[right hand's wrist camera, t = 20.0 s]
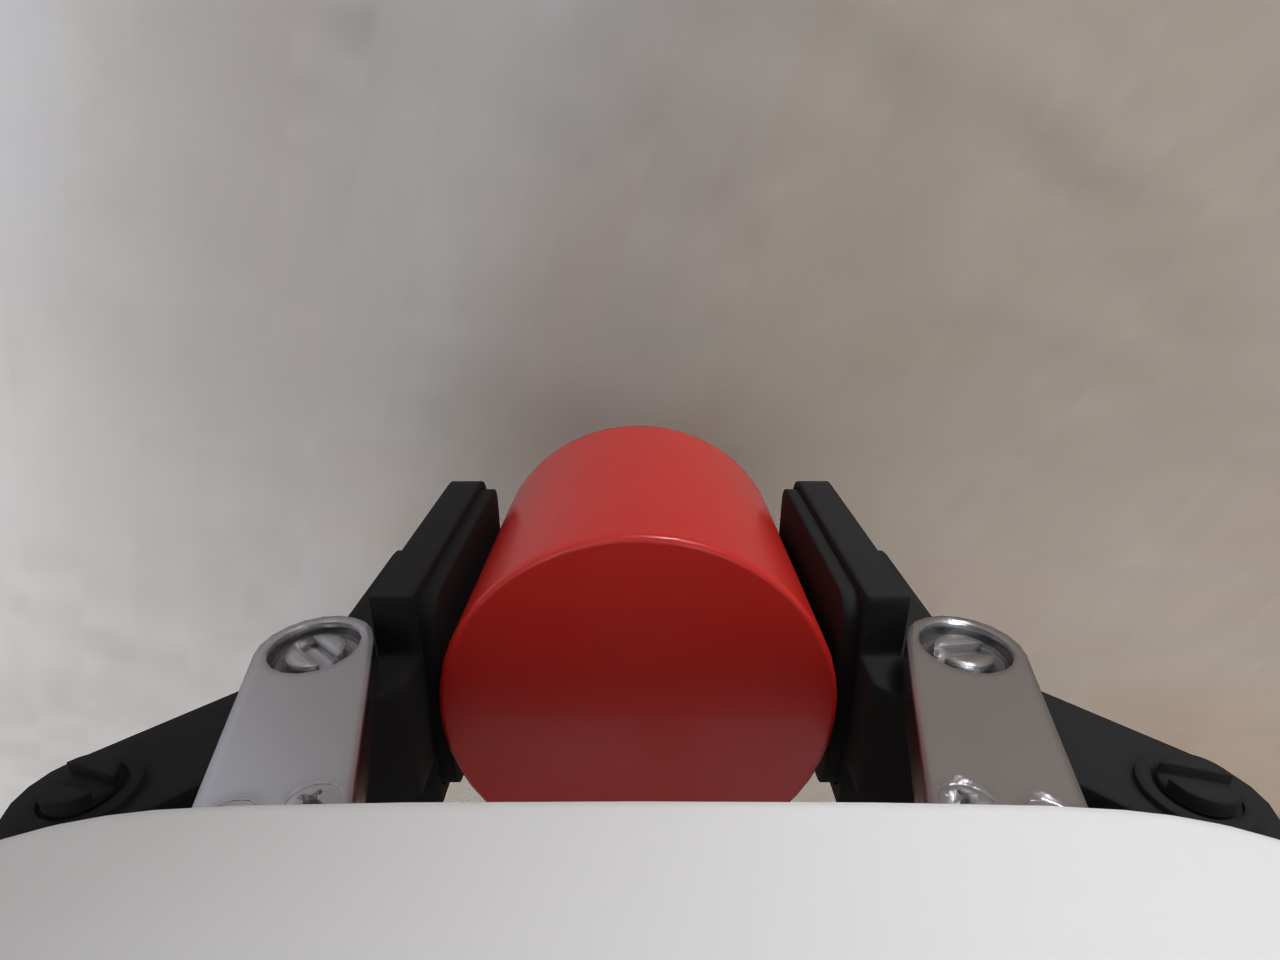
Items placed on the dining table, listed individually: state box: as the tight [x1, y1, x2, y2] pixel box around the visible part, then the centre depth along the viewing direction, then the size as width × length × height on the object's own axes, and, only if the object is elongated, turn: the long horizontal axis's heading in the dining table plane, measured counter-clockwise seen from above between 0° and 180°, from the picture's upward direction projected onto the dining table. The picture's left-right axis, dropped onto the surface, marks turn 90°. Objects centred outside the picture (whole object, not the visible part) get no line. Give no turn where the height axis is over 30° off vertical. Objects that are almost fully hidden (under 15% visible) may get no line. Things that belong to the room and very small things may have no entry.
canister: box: [439, 426, 837, 802], centre depth 10 cm, size 5×5×4 cm
